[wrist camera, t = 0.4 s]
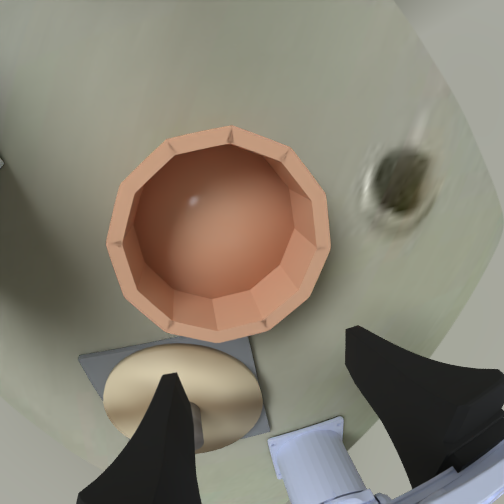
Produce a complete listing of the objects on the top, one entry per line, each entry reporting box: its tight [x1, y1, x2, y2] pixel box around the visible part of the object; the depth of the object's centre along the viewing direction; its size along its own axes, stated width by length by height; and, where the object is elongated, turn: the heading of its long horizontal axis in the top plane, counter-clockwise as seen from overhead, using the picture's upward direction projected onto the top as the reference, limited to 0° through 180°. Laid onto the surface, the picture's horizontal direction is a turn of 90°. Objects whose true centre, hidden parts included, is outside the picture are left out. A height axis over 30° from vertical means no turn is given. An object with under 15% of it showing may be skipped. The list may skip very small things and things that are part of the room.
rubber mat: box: [78, 336, 270, 440], centre depth 24 cm, size 13×13×1 cm
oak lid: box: [103, 343, 263, 454], centre depth 22 cm, size 13×13×4 cm
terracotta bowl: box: [106, 126, 331, 343], centre depth 18 cm, size 11×11×4 cm
